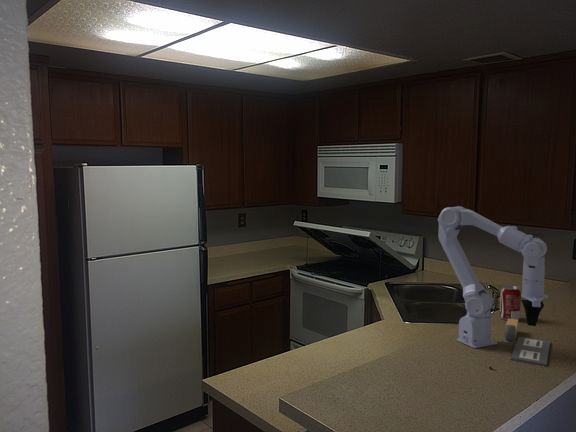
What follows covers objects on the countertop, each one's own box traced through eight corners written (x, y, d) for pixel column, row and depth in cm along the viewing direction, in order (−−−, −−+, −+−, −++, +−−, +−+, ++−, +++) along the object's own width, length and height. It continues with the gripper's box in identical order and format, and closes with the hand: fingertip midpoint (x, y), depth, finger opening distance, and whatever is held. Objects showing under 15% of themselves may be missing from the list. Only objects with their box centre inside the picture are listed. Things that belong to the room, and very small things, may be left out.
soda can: (523, 321, 173) (524, 289, 172) (504, 321, 173) (505, 289, 172) (514, 316, 180) (515, 285, 179) (496, 316, 180) (497, 285, 179)
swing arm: (515, 341, 150) (515, 327, 150) (504, 340, 151) (504, 326, 151) (517, 329, 162) (518, 316, 162) (507, 328, 164) (508, 315, 163)
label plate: (546, 366, 132) (546, 363, 132) (495, 357, 138) (495, 354, 138) (550, 343, 151) (550, 340, 151) (505, 336, 157) (505, 333, 157)
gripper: (553, 285, 132) (551, 333, 133) (543, 276, 146) (542, 319, 147) (525, 284, 134) (523, 331, 135) (518, 274, 148) (517, 317, 149)
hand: (531, 325), depth 141 cm, fingers closed
